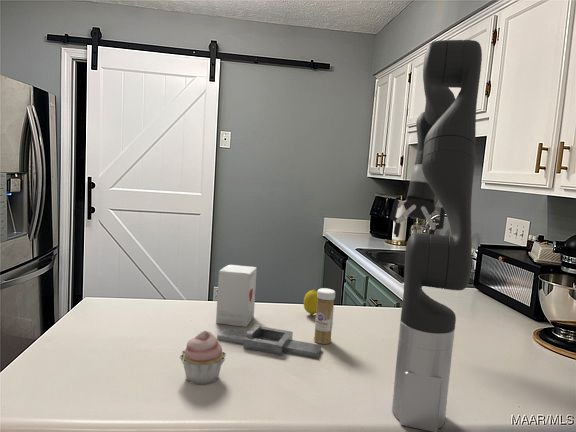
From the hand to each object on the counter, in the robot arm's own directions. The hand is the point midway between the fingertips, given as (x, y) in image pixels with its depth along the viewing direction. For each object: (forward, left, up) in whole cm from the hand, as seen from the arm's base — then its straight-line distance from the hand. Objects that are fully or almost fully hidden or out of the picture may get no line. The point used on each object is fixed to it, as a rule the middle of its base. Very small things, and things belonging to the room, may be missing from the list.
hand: (412, 240), depth 115 cm
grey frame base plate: (-25, +32, -26) cm, 48 cm away
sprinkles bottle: (-17, +20, -26) cm, 37 cm away
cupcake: (-46, +39, -26) cm, 66 cm away
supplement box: (-13, +46, -26) cm, 55 cm away
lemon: (+1, +27, -26) cm, 38 cm away
